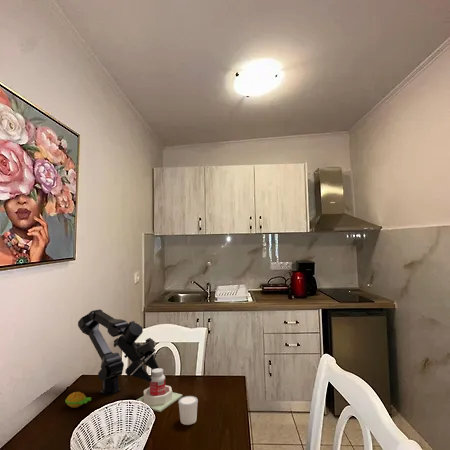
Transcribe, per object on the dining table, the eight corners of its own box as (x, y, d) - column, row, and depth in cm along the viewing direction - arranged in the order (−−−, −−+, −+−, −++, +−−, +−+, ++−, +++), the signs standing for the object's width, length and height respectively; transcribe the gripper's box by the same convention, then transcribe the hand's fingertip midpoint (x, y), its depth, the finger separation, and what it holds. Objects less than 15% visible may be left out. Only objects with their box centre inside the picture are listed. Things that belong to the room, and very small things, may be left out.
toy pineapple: (73, 401, 129) (74, 387, 129) (94, 404, 126) (94, 390, 127) (61, 409, 122) (61, 395, 123) (82, 412, 120) (82, 398, 120)
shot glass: (194, 426, 108) (194, 405, 109) (175, 424, 110) (175, 404, 110) (200, 416, 115) (200, 396, 116) (182, 414, 117) (182, 394, 117)
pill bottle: (158, 403, 124) (158, 374, 125) (146, 400, 127) (146, 371, 128) (168, 396, 130) (168, 368, 130) (156, 393, 132) (156, 366, 133)
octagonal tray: (132, 404, 125) (132, 394, 126) (156, 389, 138) (156, 381, 138) (160, 412, 119) (159, 402, 119) (182, 396, 131) (182, 387, 131)
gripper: (132, 340, 122) (160, 371, 119) (151, 328, 140) (175, 354, 138) (113, 361, 122) (140, 391, 120) (134, 345, 141) (158, 372, 139)
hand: (155, 376), depth 129 cm, fingers open, 9 cm apart
